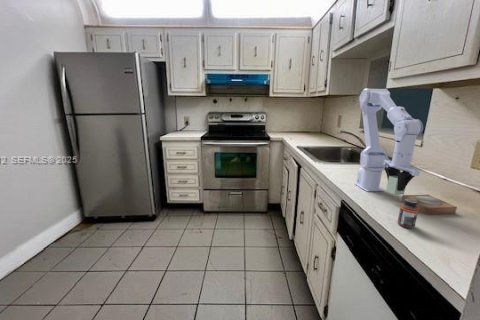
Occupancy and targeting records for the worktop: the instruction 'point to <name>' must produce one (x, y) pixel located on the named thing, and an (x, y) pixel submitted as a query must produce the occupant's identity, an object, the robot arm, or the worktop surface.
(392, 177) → the sage block
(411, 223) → the supplement bottle
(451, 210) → the walnut base
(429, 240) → the worktop surface
